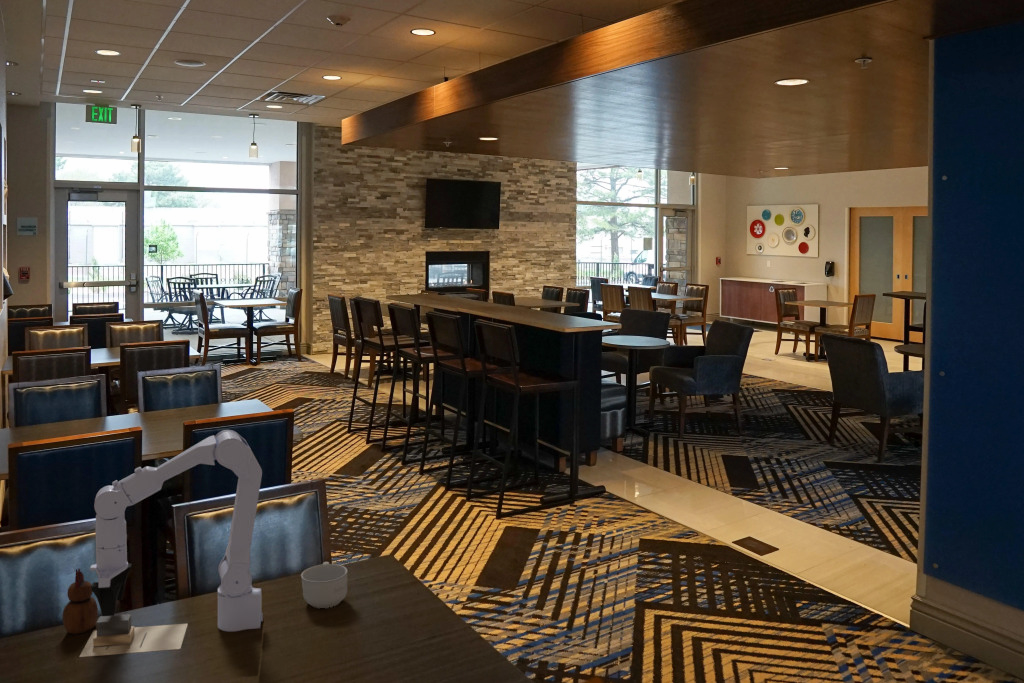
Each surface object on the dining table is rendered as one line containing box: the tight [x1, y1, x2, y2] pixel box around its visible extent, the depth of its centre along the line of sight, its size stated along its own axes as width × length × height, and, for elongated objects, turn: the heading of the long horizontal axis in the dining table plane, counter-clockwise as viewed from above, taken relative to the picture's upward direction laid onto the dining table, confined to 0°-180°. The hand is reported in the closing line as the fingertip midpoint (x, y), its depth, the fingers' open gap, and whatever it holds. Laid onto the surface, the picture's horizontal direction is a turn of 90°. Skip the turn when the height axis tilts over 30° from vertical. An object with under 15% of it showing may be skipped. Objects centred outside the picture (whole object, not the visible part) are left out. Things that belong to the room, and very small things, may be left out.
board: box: [78, 623, 189, 658], centre depth 173 cm, size 19×12×1 cm, turn 104°
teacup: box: [300, 561, 349, 609], centre depth 198 cm, size 14×11×8 cm
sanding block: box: [93, 613, 135, 648], centre depth 171 cm, size 7×4×5 cm, turn 105°
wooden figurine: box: [62, 568, 99, 634], centre depth 176 cm, size 7×6×15 cm
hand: (112, 607), depth 171 cm, fingers open, 7 cm apart
